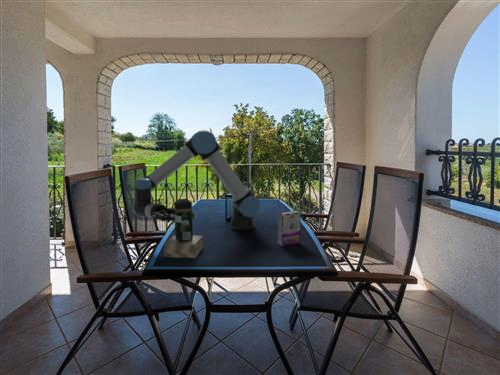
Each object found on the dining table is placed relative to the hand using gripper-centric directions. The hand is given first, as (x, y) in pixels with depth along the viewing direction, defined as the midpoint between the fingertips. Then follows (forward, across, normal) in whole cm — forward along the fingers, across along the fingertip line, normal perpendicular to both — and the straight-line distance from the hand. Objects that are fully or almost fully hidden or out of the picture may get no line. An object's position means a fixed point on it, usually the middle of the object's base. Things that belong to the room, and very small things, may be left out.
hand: (188, 217), depth 139 cm
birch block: (-3, 0, -17) cm, 17 cm away
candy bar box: (+31, -39, -17) cm, 53 cm away
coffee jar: (-3, 0, -11) cm, 11 cm away
